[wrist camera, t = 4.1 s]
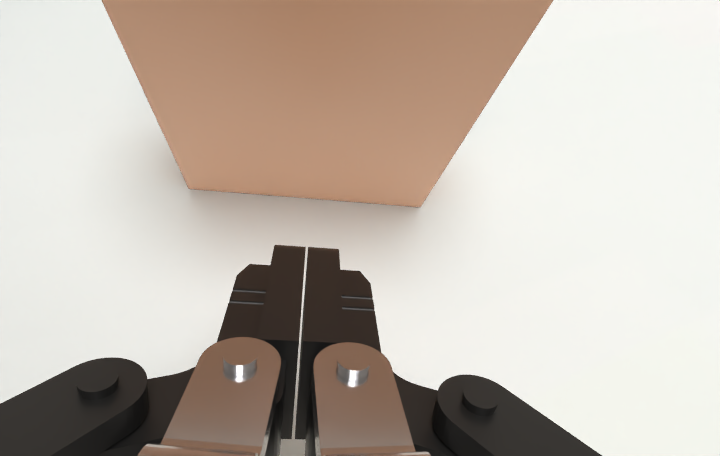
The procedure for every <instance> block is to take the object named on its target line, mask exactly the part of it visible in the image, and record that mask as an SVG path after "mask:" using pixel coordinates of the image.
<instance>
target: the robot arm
mask: <svg viewBox="0 0 720 456" xmlns="http://www.w3.org/2000/svg"><path fill="white" fill-rule="evenodd" d="M304 261H305V247H298V246H284V245H275V246H274V251H273V256H272V261H271V265H256V264H249V265H248V266H247V267H246V268H245V269H244V270H243V271H241V272H240V273H239V274H238V275H237V277H236V280H235V284H234V287H233V292H232V294H231V297H230V302H229V304H228V307H227V310H226V314H225V317H224V320H223V324H222V327H221V330H220V334H219V337H218V340H217V343H215V344H213V345H211V346H210V347H209V348H207V349H206V350H205V351H204V352H203V353H202V355H201V357H200V358H199V361H198V363H197V365H196V367H194V368H192V369H190V370H187V371H184V372H181V373H178V374H174V375H169V376H163V377H158V378H152V379H147V376H146V372H145V371H144V369H143V368H142V367H141V366H140V365H139V364H137V363H135V362H133V361H130V360H127V359H123V358H101V359H95V360H91V361H87V362H84V363H81V364H79V365H77V366H75V367H73V368H71V369H69V370H67V371H65V372H63V373H61V374H59V375H57V376H55V377H53V378H51V379H49V380H47V381H45V382H43V383H41V384H39V385H37V386H35V387H33V388H31V389H29V390H27V391H25V392H23V393H21V394H19V395H17V396H15V397H13V398H11V399H9V400H7V401H5V402H3V403H1V404H0V456H279V453H280V443H281V439H291V438H292V424H293V411H294V398H295V385H296V372H297V358H298V345H299V331H300V317H301V303H302V289H303V275H304ZM295 439H306V444H305V456H602V455H600V454H599V453H597V452H596V451H594V450H593V449H592V448H590V447H589V446H587V445H586V444H584V443H583V442H581V441H580V440H579V439H577V438H576V437H574V436H573V435H571V434H570V433H569V432H567V431H566V430H564V429H563V428H561V427H560V426H558V425H557V424H556V423H554V422H553V421H551V420H550V419H548V418H547V417H545V416H544V415H543V414H541V413H540V412H538V411H537V410H535V409H534V408H532V407H531V406H530V405H528V404H527V403H525V402H524V401H522V400H521V399H519V398H518V397H517V396H515V395H514V394H512V393H511V392H509V391H508V390H507V389H505V388H504V387H502V386H501V385H499V384H497V383H495V382H493V381H491V380H489V379H486V378H483V377H479V376H475V375H458V376H454V377H451V378H449V379H447V380H445V381H444V382H443V383H442V384H441V385H440V387H439V389H438V391H437V390H433V389H430V388H426V387H423V386H419V385H416V384H413V383H410V382H408V381H406V380H404V379H402V378H401V377H399V376H397V375H396V374H395V373H394V372H393V371H392V367H391V365H390V362H389V361H388V359H387V358H386V357H385V356H384V355H383V354H382V353H381V349H380V342H379V336H378V329H377V323H376V317H375V311H374V304H373V300H372V291H371V284H370V283H369V281H368V280H367V279H366V278H365V277H364V276H363V274H362V273H361V272H360V271H349V270H340V260H339V249H328V248H314V247H308V257H307V270H306V282H305V295H304V308H303V322H302V337H301V352H300V368H299V383H298V399H297V414H296V430H295Z"/></svg>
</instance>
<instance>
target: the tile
mask: <svg viewBox="0 0 720 456" xmlns="http://www.w3.org/2000/svg"><path fill="white" fill-rule="evenodd" d="M102 2H103V4H104V7H105V9H106V11H107V13H108V15H109V17H110V19H111V22H112V24H113V26H114V28H115V30H116V32H117V35H118V37H119V39H120V41H121V43H122V45H123V48H124V50H125V52H126V54H127V56H128V58H129V61H130V63H131V65H132V67H133V69H134V71H135V73H136V76H137V78H138V80H139V82H140V84H141V86H142V89H143V91H144V93H145V95H146V97H147V99H148V102H149V104H150V106H151V108H152V110H153V112H154V115H155V117H156V119H157V121H158V123H159V125H160V127H161V130H162V132H163V134H164V136H165V138H166V140H167V143H168V145H169V147H170V149H171V151H172V153H173V156H174V158H175V160H176V162H177V164H178V166H179V169H180V171H181V173H182V175H183V177H184V179H185V181H186V184H187V186H188V188H189V189H198V190H210V191H223V192H236V193H248V194H261V195H273V196H286V197H298V198H311V199H324V200H336V201H349V202H361V203H374V204H386V205H399V206H411V207H421V205H422V204H423V202H424V201H425V199H426V198H427V196H428V195H429V193H430V191H431V190H432V188H433V187H434V185H435V184H436V182H437V181H438V179H439V177H440V176H441V174H442V173H443V171H444V170H445V168H446V167H447V165H448V163H449V162H450V160H451V159H452V157H453V156H454V154H455V153H456V151H457V149H458V148H459V146H460V145H461V143H462V142H463V140H464V139H465V137H466V135H467V134H468V132H469V131H470V129H471V128H472V126H473V125H474V123H475V121H476V120H477V118H478V117H479V115H480V114H481V112H482V110H483V109H484V107H485V106H486V104H487V103H488V101H489V100H490V98H491V96H492V95H493V93H494V92H495V90H496V89H497V87H498V86H499V84H500V82H501V81H502V79H503V78H504V76H505V75H506V73H507V72H508V70H509V68H510V67H511V65H512V64H513V62H514V61H515V59H516V58H517V56H518V54H519V53H520V51H521V50H522V48H523V47H524V45H525V44H526V42H527V40H528V39H529V37H530V36H531V34H532V33H533V31H534V30H535V28H536V26H537V25H538V23H539V22H540V20H541V19H542V17H543V16H544V14H545V12H546V11H547V9H548V8H549V6H550V5H551V3H552V2H553V0H102Z"/></svg>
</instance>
